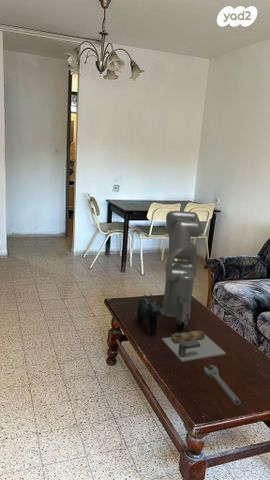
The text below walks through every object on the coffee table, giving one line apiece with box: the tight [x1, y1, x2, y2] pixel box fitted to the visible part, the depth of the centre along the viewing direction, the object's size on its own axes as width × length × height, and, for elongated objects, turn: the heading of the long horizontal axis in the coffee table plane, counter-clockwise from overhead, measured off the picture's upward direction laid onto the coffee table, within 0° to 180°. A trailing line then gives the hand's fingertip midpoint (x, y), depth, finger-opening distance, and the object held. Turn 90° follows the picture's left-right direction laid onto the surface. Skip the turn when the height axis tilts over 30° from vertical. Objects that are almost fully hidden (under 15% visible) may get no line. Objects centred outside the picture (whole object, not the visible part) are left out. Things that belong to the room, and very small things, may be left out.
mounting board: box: [161, 334, 226, 363], centre depth 176 cm, size 20×24×6 cm
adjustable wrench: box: [203, 364, 242, 407], centre depth 149 cm, size 25×6×2 cm, turn 12°
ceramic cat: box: [136, 293, 161, 336], centre depth 189 cm, size 20×6×20 cm, turn 22°
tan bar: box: [171, 330, 206, 343], centre depth 181 cm, size 17×4×4 cm, turn 112°
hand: (179, 330), depth 187 cm, fingers closed
